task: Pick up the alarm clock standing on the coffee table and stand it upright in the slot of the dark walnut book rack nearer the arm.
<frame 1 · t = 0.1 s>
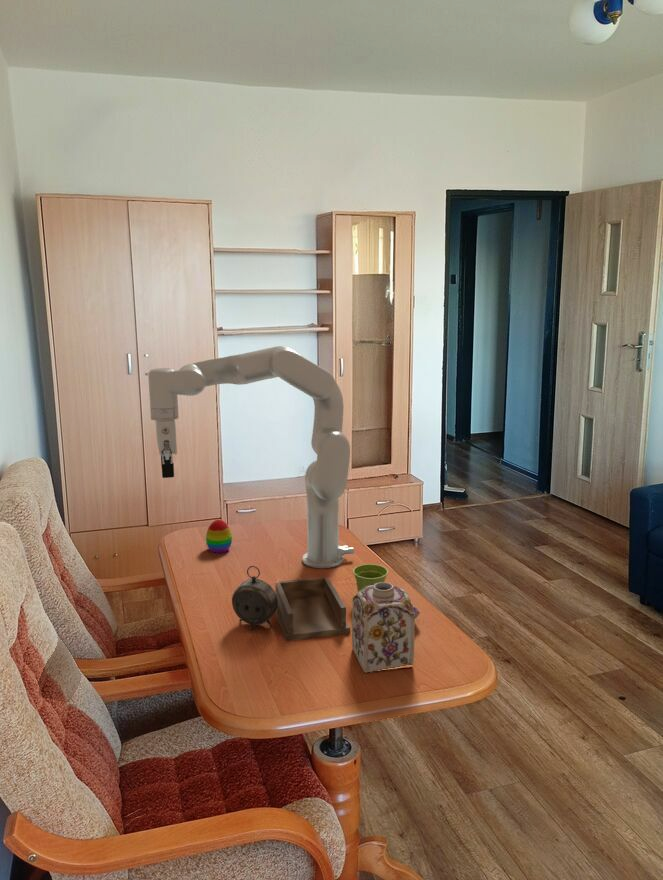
hand: (167, 472, 203), 31 cm above the table, tool pointing down, fingers open, 9 cm apart
video game controller: (398, 626, 180), on the table
decorative egg: (219, 550, 230), on the table
decorative jar: (382, 659, 165), on the table
book rack: (309, 618, 184), on the table
plant pot: (370, 601, 194), on the table
alarm clock: (254, 627, 180), on the table
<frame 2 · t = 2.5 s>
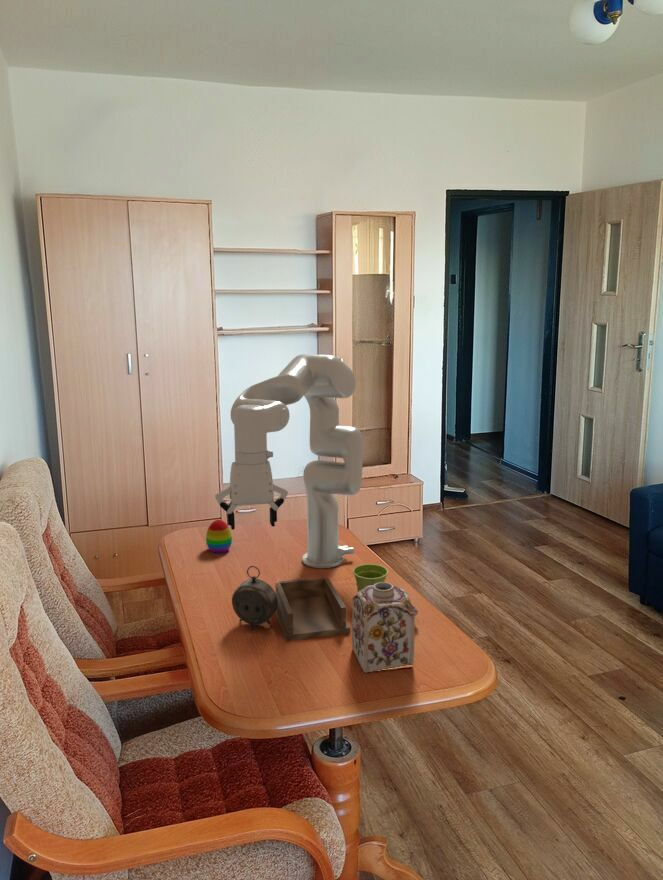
hand: (252, 526, 173), 27 cm above the table, tool pointing down, fingers open, 9 cm apart
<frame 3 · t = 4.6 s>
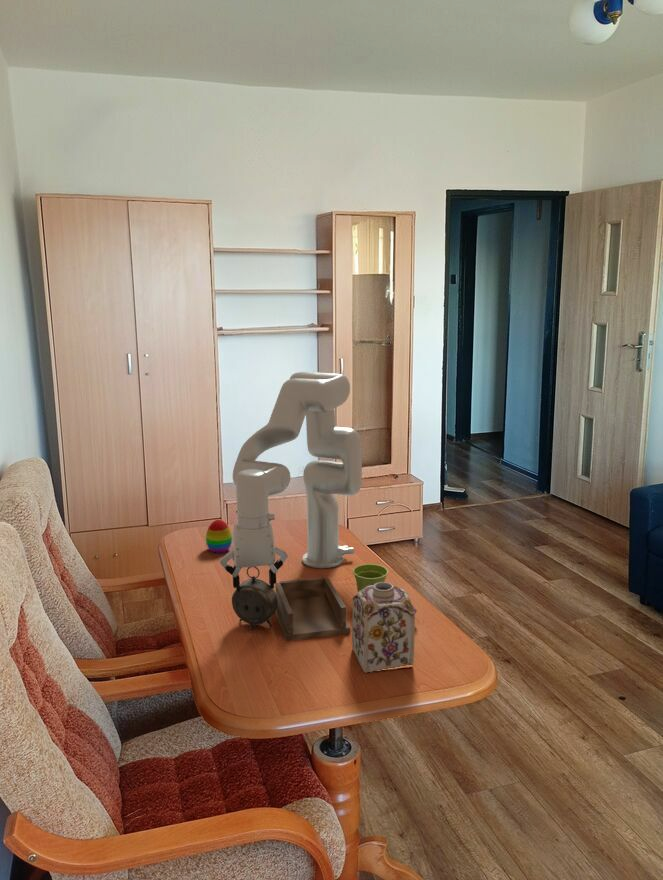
hand: (254, 587, 177), 10 cm above the table, tool pointing down, fingers closed on alarm clock, 7 cm apart
alarm clock: (254, 627, 180), on the table, touching gripper
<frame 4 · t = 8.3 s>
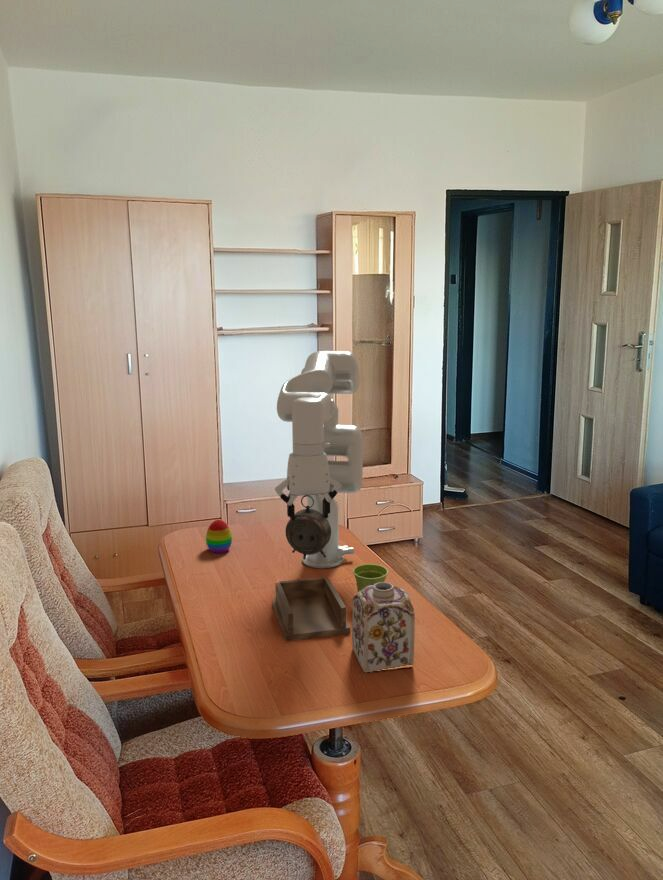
hand: (308, 517, 178), 27 cm above the table, tool pointing down, fingers closed on alarm clock, 7 cm apart
alarm clock: (307, 557, 180), point 17 cm above the table, touching gripper
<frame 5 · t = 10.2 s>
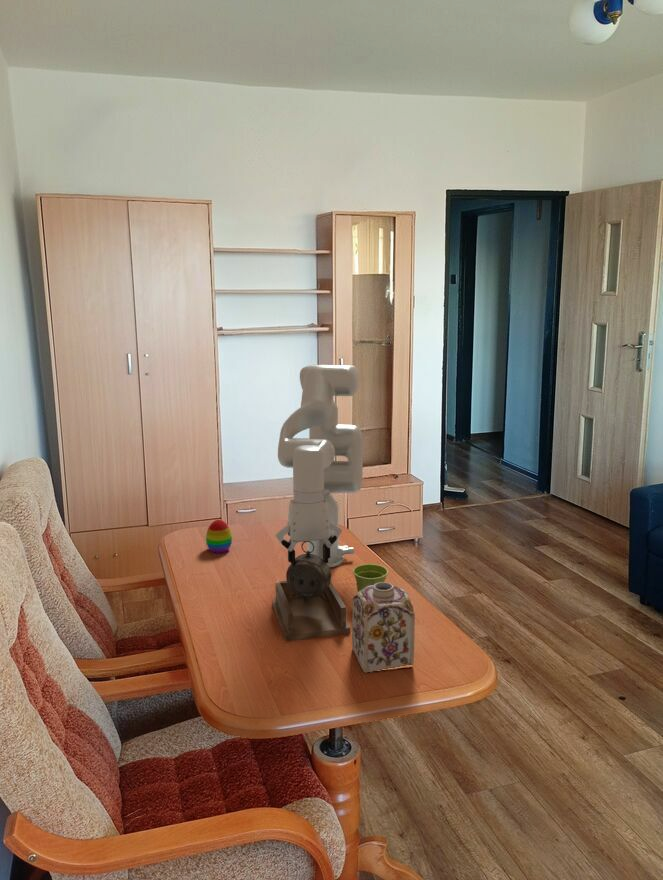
hand: (309, 562, 180), 15 cm above the table, tool pointing down, fingers closed on alarm clock, 7 cm apart
alarm clock: (308, 601, 183), point 5 cm above the table, touching gripper
when the fingers open (13 cm above the table, at t = 11.8 s): alarm clock drops 1 cm, resting on book rack.
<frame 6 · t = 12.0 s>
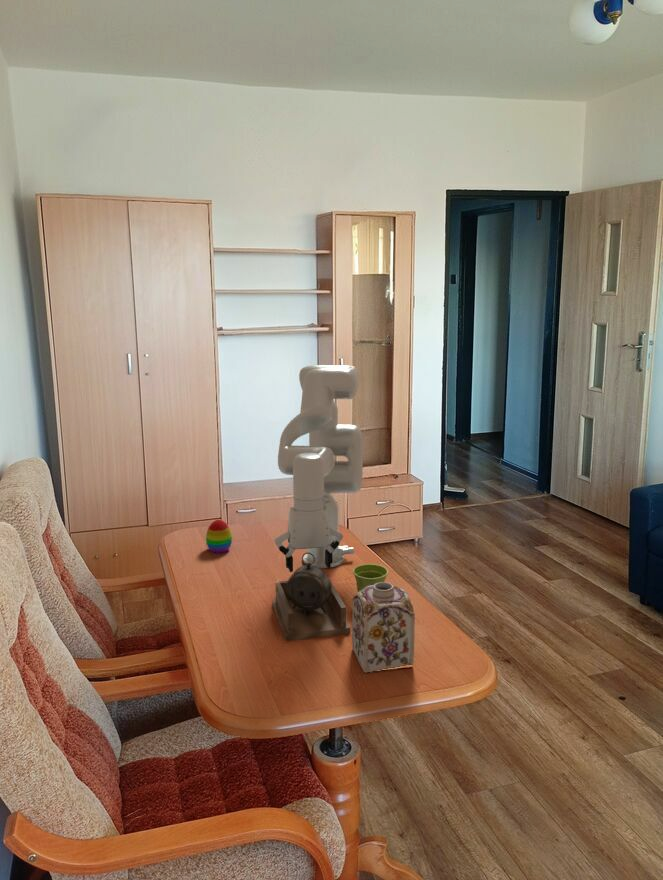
hand: (309, 568, 181), 14 cm above the table, tool pointing down, fingers open, 9 cm apart
alarm clock: (308, 613, 184), point 1 cm above the table, touching book rack
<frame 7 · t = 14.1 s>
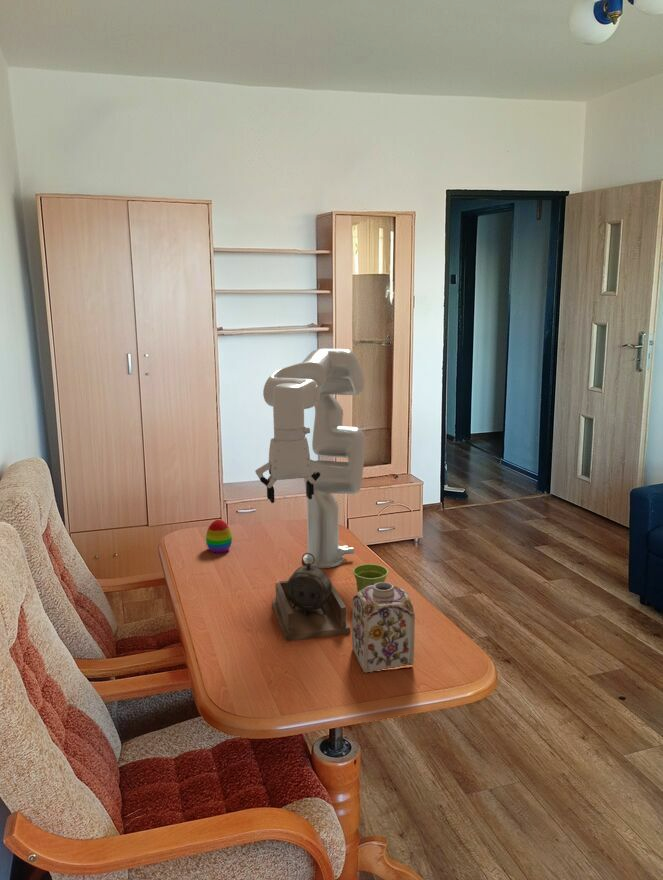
hand: (290, 499, 182), 30 cm above the table, tool pointing down, fingers open, 9 cm apart
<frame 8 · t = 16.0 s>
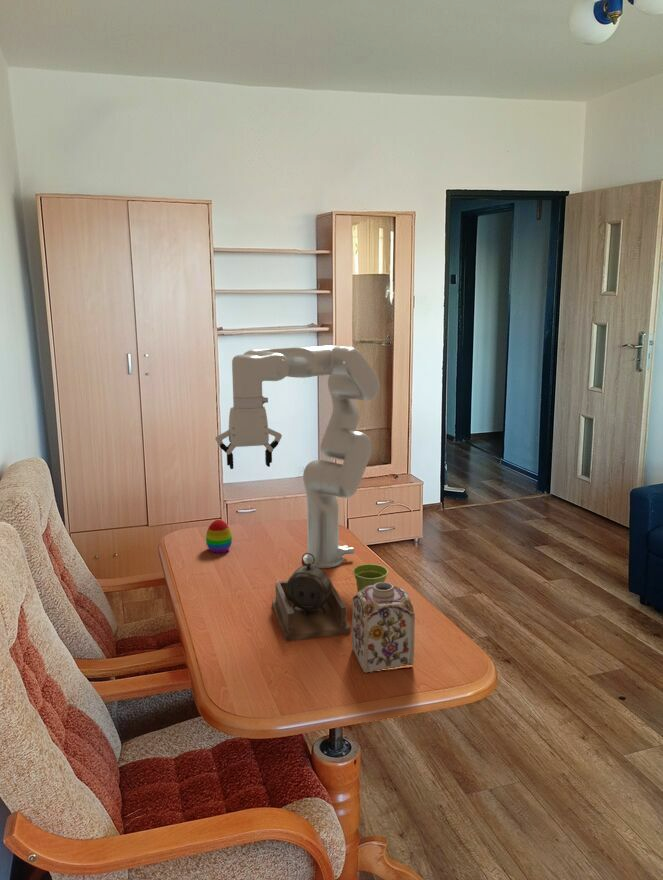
hand: (249, 466, 190), 36 cm above the table, tool pointing down, fingers open, 9 cm apart
at the end: alarm clock inside the target area on the book rack (0.9 cm from its centre), point 1.3 cm above the book rack's base; alarm clock tilted 0°; the gripper is holding nothing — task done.
